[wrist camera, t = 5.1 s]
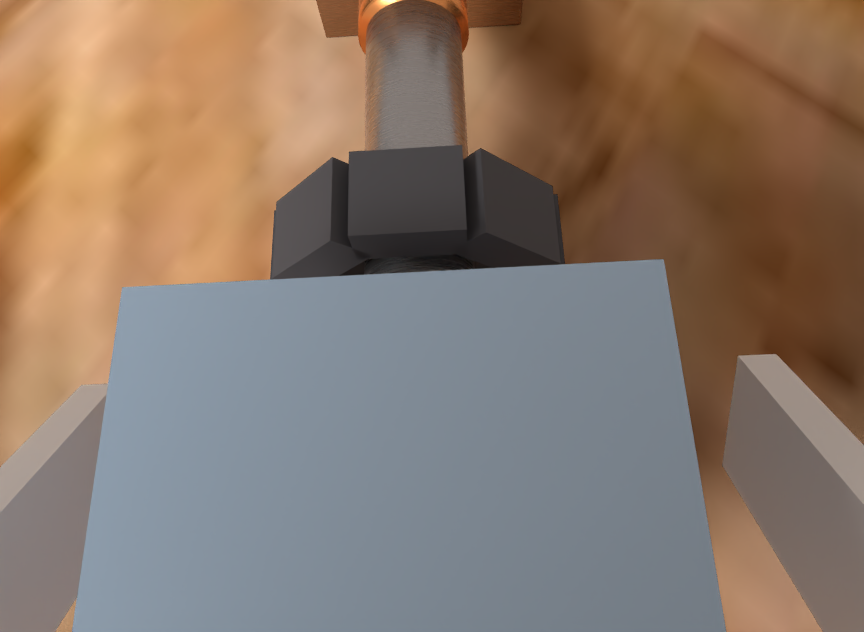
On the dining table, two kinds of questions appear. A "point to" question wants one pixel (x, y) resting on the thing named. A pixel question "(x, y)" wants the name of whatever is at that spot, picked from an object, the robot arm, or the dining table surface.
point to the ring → (415, 213)
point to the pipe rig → (415, 80)
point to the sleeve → (400, 458)
